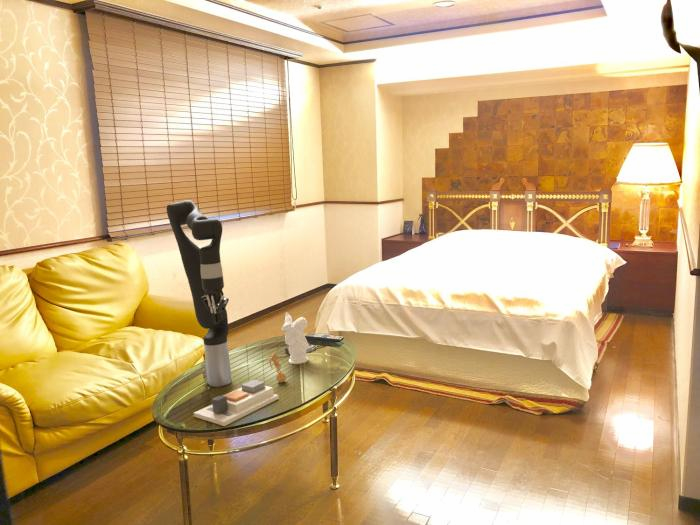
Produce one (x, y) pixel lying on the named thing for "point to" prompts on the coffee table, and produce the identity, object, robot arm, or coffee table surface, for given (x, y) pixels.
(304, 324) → the cherub figurine
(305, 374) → the coffee table surface
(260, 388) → the grey button
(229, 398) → the orange button
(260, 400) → the control panel
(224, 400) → the dark grey block
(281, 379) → the figurine
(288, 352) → the walkie-talkie
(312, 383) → the coffee table surface
